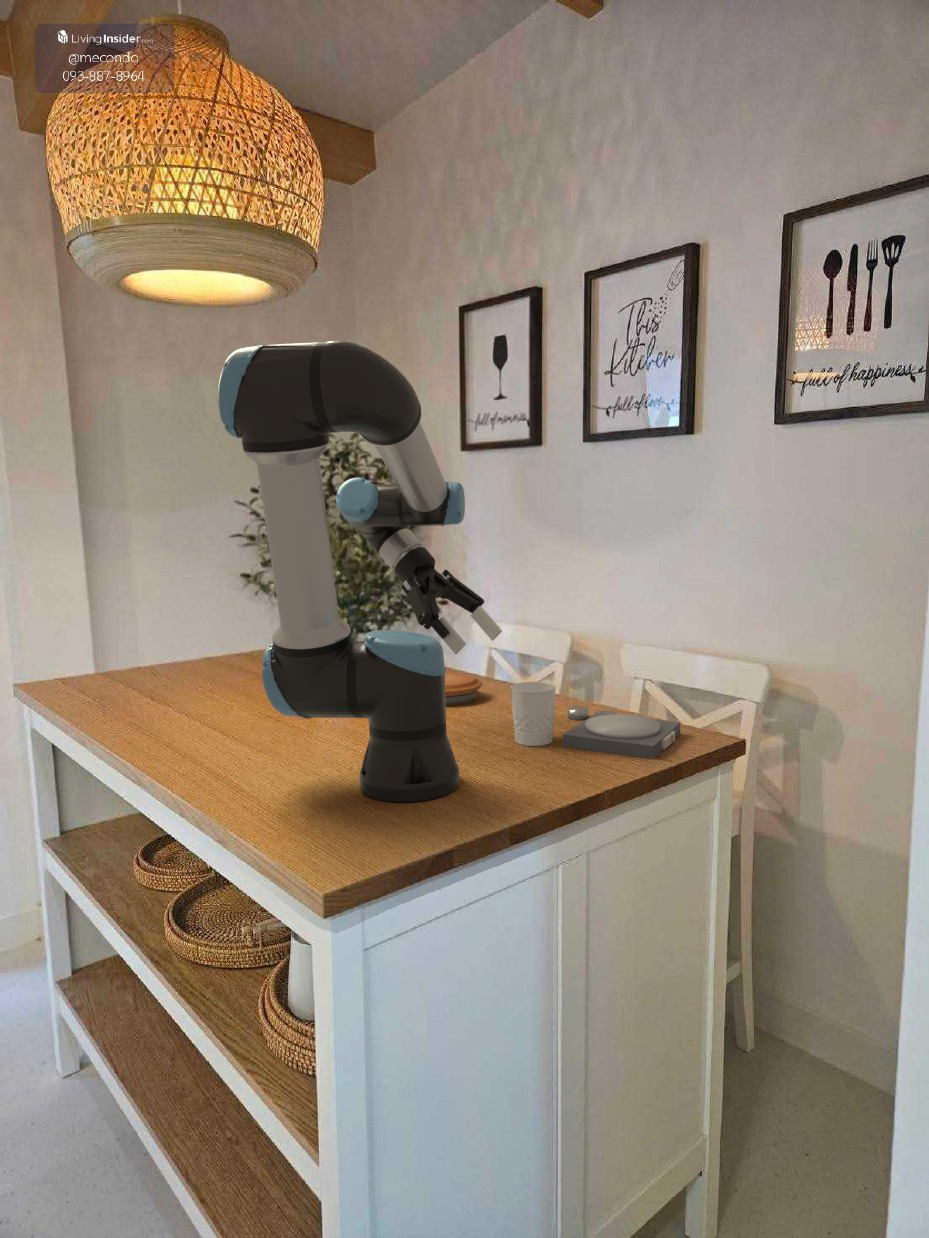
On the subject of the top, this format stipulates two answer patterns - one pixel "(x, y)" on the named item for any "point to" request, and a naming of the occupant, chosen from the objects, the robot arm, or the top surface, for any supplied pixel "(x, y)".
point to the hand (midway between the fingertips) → (479, 642)
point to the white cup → (533, 712)
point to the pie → (460, 688)
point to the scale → (622, 735)
